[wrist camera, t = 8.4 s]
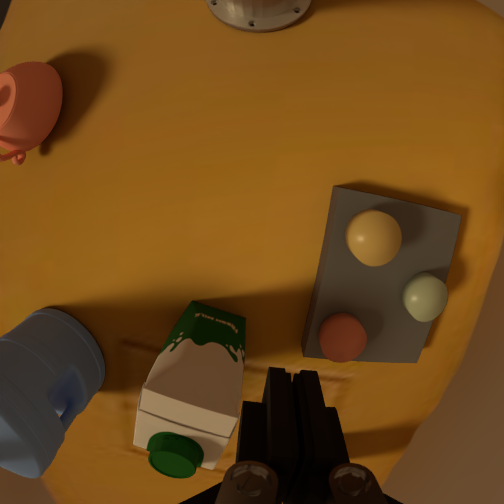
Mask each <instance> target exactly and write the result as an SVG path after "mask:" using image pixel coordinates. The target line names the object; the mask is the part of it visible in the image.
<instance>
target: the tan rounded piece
mask: <svg viewBox="0 0 504 504" xmlns="http://www.w3.org/2000/svg"><path fill="white" fill-rule="evenodd" d="M345 241H346V244H347V247H348V249H349V250H350V251H351V253H352V254H353V255H354V256H355V257H356V258H357V259H358V260H359V261H360V262H362V263H363V264H365V265H368V266H381V265H384V264H386V263H388V262H389V261H391V260H392V259H393V258H394V257H395V256H396V254H397V253H398V251H399V248H400V246H401V241H402V235H401V230H400V227H399V225H398V223H397V221H396V220H395V219H394V218H393V217H391V216H390V215H388V214H386V213H383V212H381V211H378V210H375V209H365V210H362V211H359V212H358V213H356V214H355V215H354V216H353V217H352V218H351V219H350V221H349V222H348V224H347V227H346V230H345Z"/></svg>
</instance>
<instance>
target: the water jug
mask: <svg viewBox="0 0 504 504" xmlns="http://www.w3.org/2000/svg"><path fill="white" fill-rule="evenodd" d="M104 378H105V363H104V358H103V355H102V353H101V350H100V348H99V346H98V344H97V343H96V341H95V339H94V338H93V336H92V335H91V334H90V333H89V331H88V330H87V329H86V328H85V327H84V326H83V325H82V324H81V323H80V322H79V321H77V320H76V319H75V318H73V317H72V316H70V315H68V314H67V313H65V312H62V311H60V310H56V309H51V308H44V309H39V310H37V311H35V312H33V313H32V314H31V315H29V316H28V317H27V318H26V319H25V320H24V321H23V322H22V323H20V324H19V325H18V326H16V327H15V328H14V329H13V330H11V331H10V332H8V333H6V334H5V335H3V336H2V337H0V467H2V468H5V469H7V470H9V471H12V472H14V473H16V474H19V475H21V476H24V477H28V478H38V477H40V476H42V475H43V473H44V472H45V470H46V469H47V468H48V467H49V466H50V464H51V463H52V461H53V459H54V458H55V456H56V453H57V451H58V449H59V448H60V446H61V444H62V443H63V441H64V436H65V435H64V434H65V432H66V431H67V429H68V428H69V426H70V425H71V423H72V422H73V420H74V419H75V417H76V416H77V415H78V414H80V413H81V412H82V411H83V410H84V409H85V408H86V406H87V405H88V403H89V402H90V400H91V399H92V397H93V396H94V395H95V394H96V393H97V391H98V390H99V389H100V387H101V386H102V384H103V381H104ZM58 414H59V415H61V416H60V418H59V416H58Z"/></svg>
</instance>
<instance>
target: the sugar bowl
mask: <svg viewBox="0 0 504 504" xmlns="http://www.w3.org/2000/svg"><path fill="white" fill-rule="evenodd" d="M62 98H63V89H62V82H61V79H60V76H59V74H58V73H57V71H56V70H55V69H54V68H53V67H52V66H51V65H49V64H46V63H42V62H25V63H21V64H18V65H15V66H13V67H11V68H9V69H7V70H5V71H3V72H2V73H0V146H1V147H3V148H5V149H8V150H11V151H12V152H9V153H7V154H5V155H1V154H0V161H6V160H8V159H10V158H12V161H13V163H14V164H16V165H21V164H22V163H23V162H24V160H25V158H26V153H25V151H28V150H31V149H33V148H35V147H36V146H38V145H39V144H40V143H41V142H43V141H44V140H45V138H46V137H47V136H48V135H49V133H50V132H51V130H52V129H53V127H54V125H55V123H56V121H57V119H58V116H59V113H60V110H61V105H62ZM17 155H18V159H17Z"/></svg>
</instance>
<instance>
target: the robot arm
mask: <svg viewBox="0 0 504 504" xmlns="http://www.w3.org/2000/svg"><path fill="white" fill-rule="evenodd" d="M206 1H207V4H208V7H209V8H210V10H211V12H212V13H213V14H214V15H215V16H216V18H217V19H219V20H220V21H221V22H223V23H224V24H226V25H228V26H230V27H233V28H235V29H239V30H242V31H248V32H270V31H276V30H279V29H282V28H285V27H287V26H290V25H292V24H294V23H295V22H296V21H298V20H299V19H300V18H301V17H302V16H303V15H304V14H305V13H306V11H307V10H308V8H309V6H310V3H311V0H206ZM215 4H217V5H215ZM295 12H298V13H295ZM251 25H254V26H252V27H251ZM282 501H283V504H403V503H401V502H398V501H397V500H395V499H393V498H391V497H390V496H388V495H386V494H384V493H383V492H382V490H381V488H380V486H379V484H378V482H377V480H376V478H375V476H374V474H373V473H372V472H371V471H370V470H369V469H368V468H366V467H365V466H362V465H360V464H355V463H350V461H349V457H348V452H347V448H346V444H345V440H344V436H343V433H342V429H341V425H340V421H339V417H338V413H337V410H336V408H335V407H325V403H324V398H323V394H322V390H321V385H320V381H319V377H318V373H317V371H311V370H301V371H300V373H299V374H297V373H295V374H294V377H293V380H291V373H286V372H285V368H275V367H269V369H268V373H267V378H266V383H265V388H264V393H263V398H262V403H260V402H250V401H243V404H242V410H241V417H240V424H239V432H238V442H237V453H236V463H235V464H233V465H232V466H231V467H230V468H228V470H227V471H226V473H225V475H224V478H223V481H222V482H220V483H218V484H217V485H215V486H213V487H211V488H209V489H207V490H205V491H203V492H201V493H199V494H197V495H195V496H193V497H191V498H189V499H187V500H185V501H183V502H181V503H179V504H282Z"/></svg>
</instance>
